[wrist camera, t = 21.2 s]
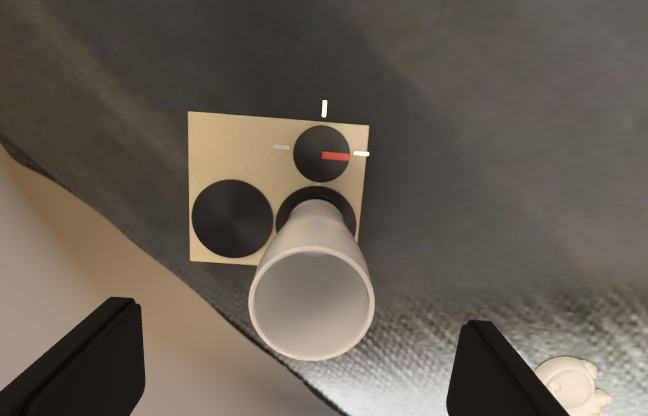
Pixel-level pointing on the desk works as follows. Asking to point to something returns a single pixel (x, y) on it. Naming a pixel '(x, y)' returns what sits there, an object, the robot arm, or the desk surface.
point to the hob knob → (321, 154)
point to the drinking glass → (312, 286)
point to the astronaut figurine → (574, 385)
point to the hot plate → (263, 164)
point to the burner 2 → (316, 193)
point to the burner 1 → (232, 218)
